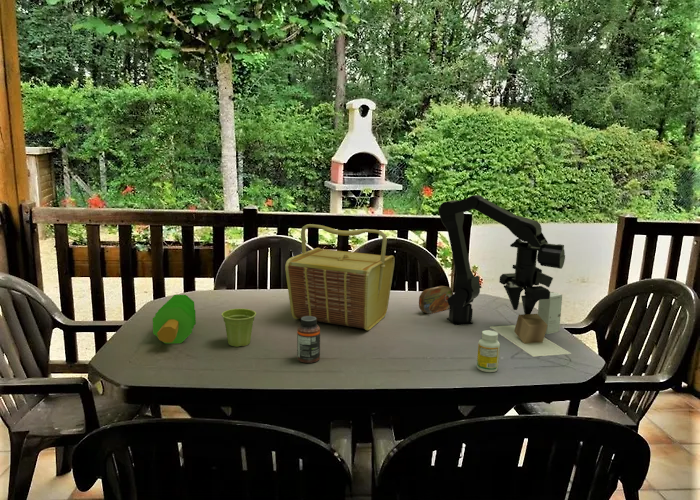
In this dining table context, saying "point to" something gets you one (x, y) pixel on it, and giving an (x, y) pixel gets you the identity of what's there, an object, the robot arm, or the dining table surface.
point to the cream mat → (531, 348)
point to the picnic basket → (340, 283)
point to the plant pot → (238, 326)
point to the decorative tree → (175, 320)
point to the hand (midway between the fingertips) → (521, 313)
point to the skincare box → (551, 312)
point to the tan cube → (530, 328)
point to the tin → (435, 299)
